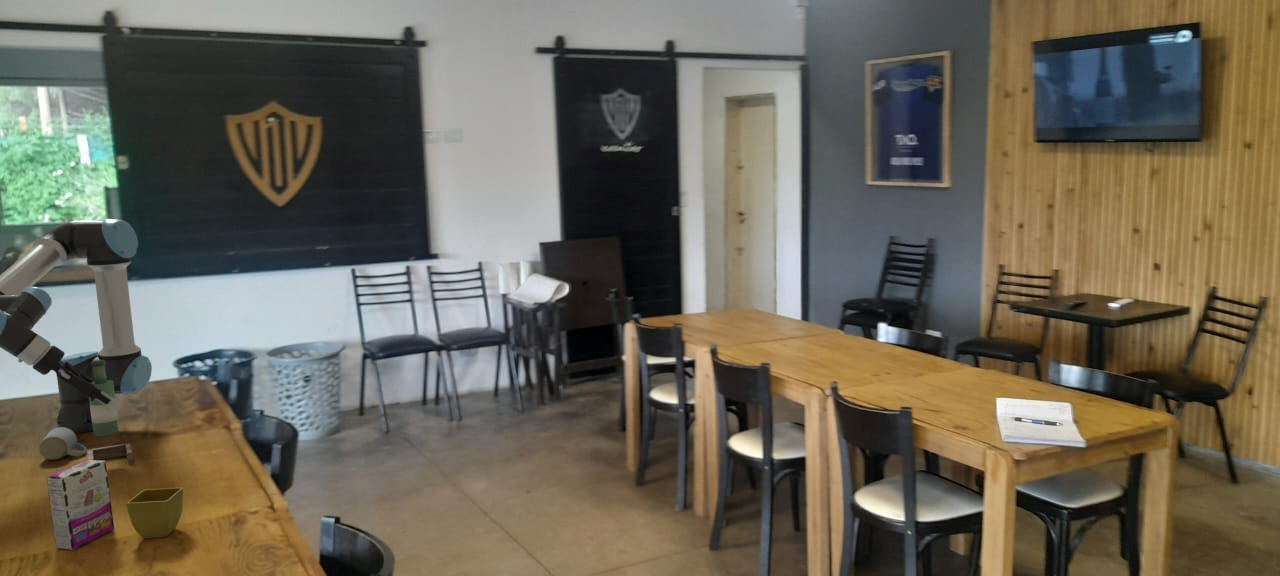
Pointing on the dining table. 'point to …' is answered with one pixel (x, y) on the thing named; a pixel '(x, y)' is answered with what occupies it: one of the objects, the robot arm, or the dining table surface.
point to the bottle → (100, 414)
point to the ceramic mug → (60, 444)
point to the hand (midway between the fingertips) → (118, 406)
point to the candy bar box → (80, 504)
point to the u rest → (111, 452)
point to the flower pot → (156, 511)
